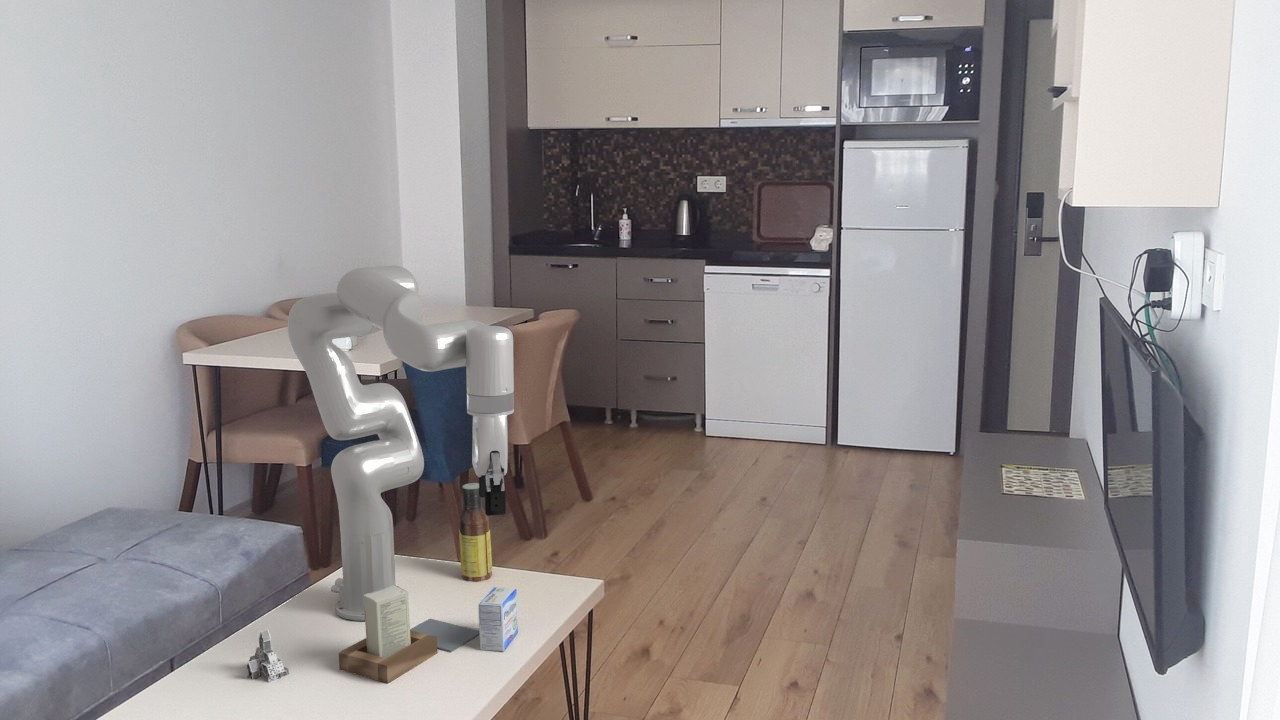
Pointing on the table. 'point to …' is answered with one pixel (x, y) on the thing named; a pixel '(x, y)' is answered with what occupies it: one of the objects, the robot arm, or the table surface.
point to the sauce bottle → (474, 537)
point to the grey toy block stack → (266, 661)
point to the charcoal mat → (446, 634)
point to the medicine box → (498, 619)
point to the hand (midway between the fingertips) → (492, 505)
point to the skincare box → (387, 621)
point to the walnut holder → (394, 665)
